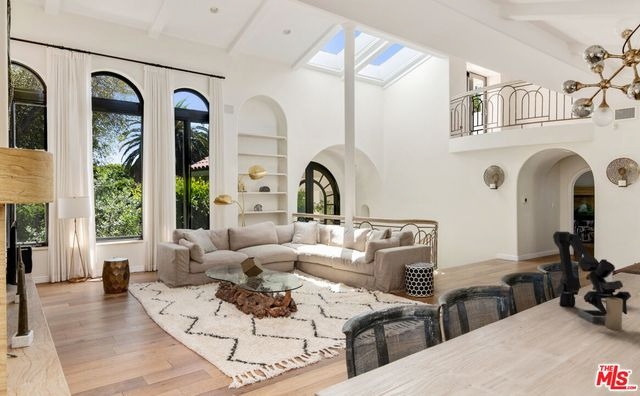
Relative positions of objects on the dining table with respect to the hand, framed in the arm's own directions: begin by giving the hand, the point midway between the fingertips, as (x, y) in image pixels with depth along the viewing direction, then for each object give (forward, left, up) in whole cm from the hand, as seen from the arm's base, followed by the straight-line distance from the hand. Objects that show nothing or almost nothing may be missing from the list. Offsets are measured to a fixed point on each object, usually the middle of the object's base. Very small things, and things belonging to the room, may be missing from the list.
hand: (616, 313), depth 181 cm
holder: (-6, +11, -7) cm, 14 cm away
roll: (-1, +1, -7) cm, 7 cm away
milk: (+4, +56, -7) cm, 56 cm away
